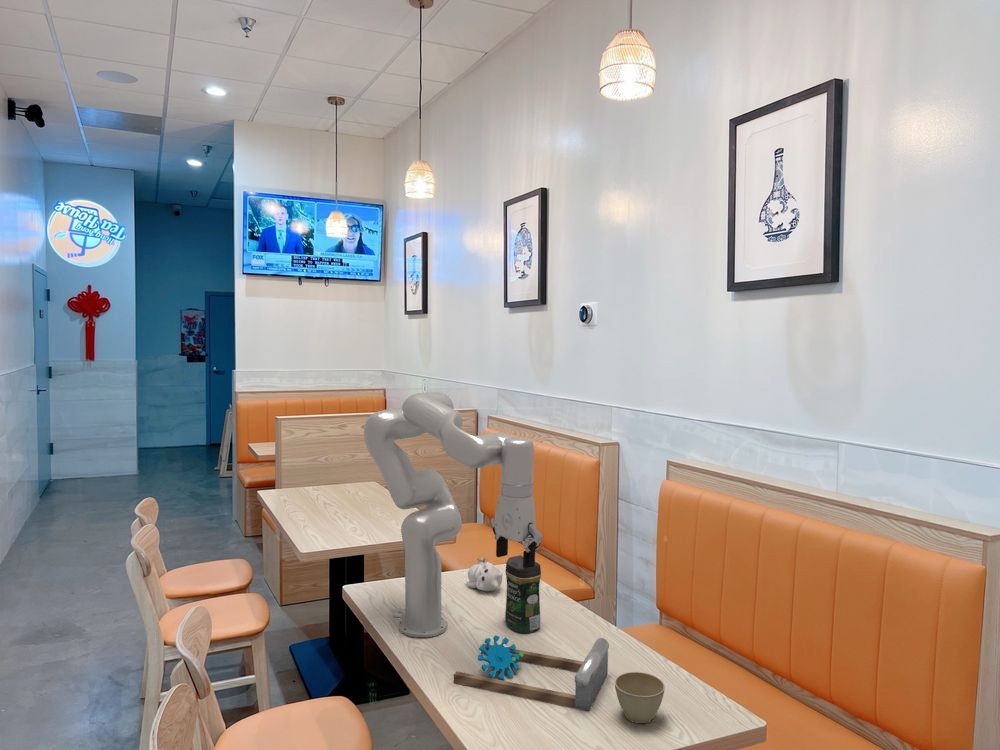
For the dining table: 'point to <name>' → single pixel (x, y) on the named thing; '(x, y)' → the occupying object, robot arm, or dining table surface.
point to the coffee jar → (522, 596)
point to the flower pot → (639, 695)
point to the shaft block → (591, 675)
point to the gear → (499, 657)
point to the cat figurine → (484, 576)
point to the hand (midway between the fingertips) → (515, 561)
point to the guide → (525, 690)
